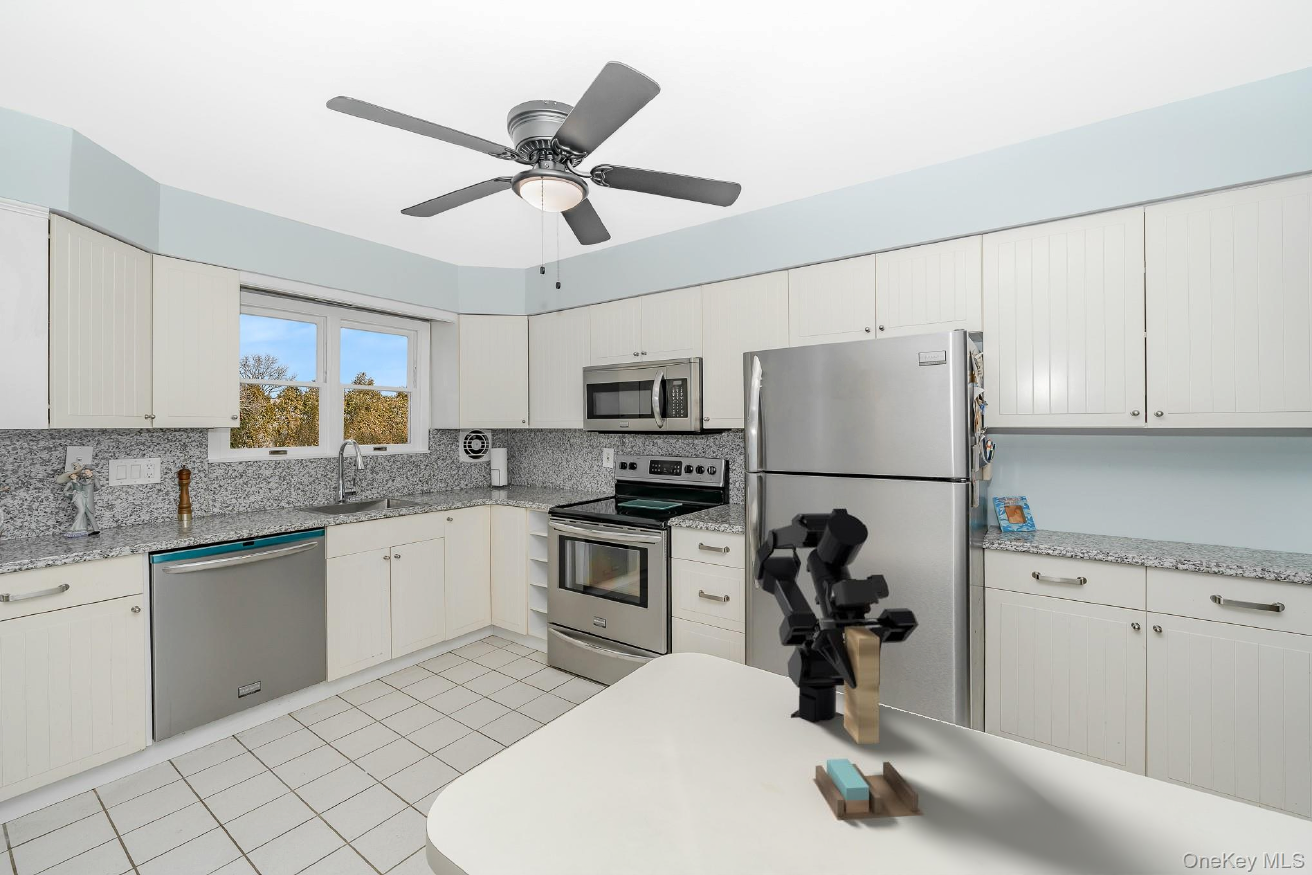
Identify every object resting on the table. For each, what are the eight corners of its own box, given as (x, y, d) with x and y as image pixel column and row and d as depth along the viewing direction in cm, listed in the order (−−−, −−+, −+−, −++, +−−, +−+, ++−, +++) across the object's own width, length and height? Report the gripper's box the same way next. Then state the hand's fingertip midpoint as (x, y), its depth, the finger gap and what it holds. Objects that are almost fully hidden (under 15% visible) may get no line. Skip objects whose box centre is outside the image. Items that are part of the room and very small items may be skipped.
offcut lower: (826, 782, 74) (826, 771, 74) (847, 781, 74) (847, 769, 74) (846, 813, 68) (846, 800, 68) (868, 811, 68) (868, 799, 68)
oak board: (843, 726, 80) (844, 626, 80) (863, 725, 80) (863, 626, 80) (858, 743, 75) (859, 638, 75) (878, 742, 75) (879, 637, 75)
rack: (812, 786, 75) (812, 763, 75) (889, 781, 76) (889, 759, 76) (837, 828, 67) (837, 802, 67) (923, 822, 68) (923, 797, 68)
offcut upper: (826, 771, 74) (826, 759, 74) (847, 769, 74) (847, 758, 74) (846, 800, 68) (846, 788, 68) (868, 799, 68) (869, 786, 68)
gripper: (785, 554, 80) (814, 664, 70) (911, 552, 82) (958, 659, 71) (769, 594, 88) (792, 698, 77) (884, 592, 90) (923, 693, 79)
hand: (865, 687), depth 76 cm, fingers closed on oak board, 3 cm apart
